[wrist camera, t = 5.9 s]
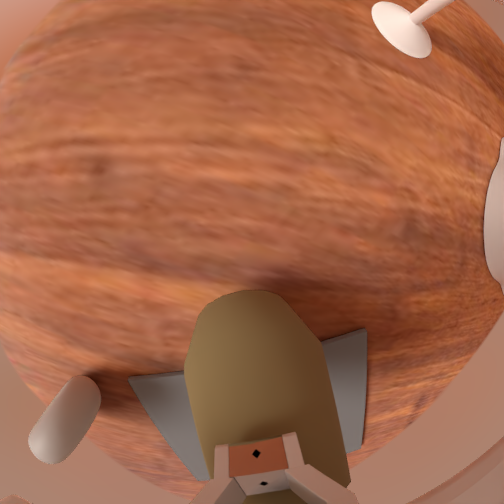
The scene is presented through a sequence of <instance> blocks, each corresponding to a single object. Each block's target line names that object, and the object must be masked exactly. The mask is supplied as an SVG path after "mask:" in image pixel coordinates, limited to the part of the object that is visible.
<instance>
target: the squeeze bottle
mask: <svg viewBox="0 0 504 504" xmlns="http://www.w3.org/2000/svg"><path fill="white" fill-rule="evenodd" d="M184 378H185V383H186V388H187V392H188V397H189V401H190V406H191V410H192V415H193V419H194V423H195V427H196V431H197V435H198V439H199V442H200V446H201V450H202V453H203V457H204V460H205V464H206V467H207V470H208V474H209V477H210V479H214V459H215V447H216V445H221V444H231V443H239V442H247V441H254V440H257V439H263V438H268V437H272V436H277V435H281V434H282V435H283V434H287V433H291V432H296V434H297V438H298V441H299V445H300V449H301V453H302V456H303V460H304V464H305V465H307V464H310V465H311V466H312V467H314V468H315V469H317V470H318V471H320V472H321V473H323V474H324V475H326V476H327V477H329V478H330V479H332V480H333V481H335V482H337V483H338V484H340V485H341V486H343V487H345V488H347V486H348V485H349V483H350V482H351V479H350V473H349V468H348V462H347V457H346V451H345V446H344V441H343V436H342V431H341V426H340V421H339V417H338V412H337V407H336V403H335V398H334V394H333V389H332V385H331V381H330V377H329V372H328V368H327V364H326V360H325V356H324V352H323V348H322V344H321V342H320V341H319V340H318V338H317V337H316V336H315V335H314V334H313V333H312V331H311V330H310V329H309V328H308V327H307V326H306V324H305V323H304V322H303V321H302V320H301V319H300V317H299V316H298V315H297V314H296V313H295V311H294V310H293V309H292V308H291V307H290V306H289V304H288V303H287V302H286V301H285V300H284V299H283V298H281V297H280V296H279V295H278V294H275V293H271V292H268V291H264V290H243V291H239V292H235V293H231V294H227V295H223V296H221V297H220V298H218V299H216V300H214V301H213V302H211V303H209V304H207V306H206V307H205V308H204V309H203V310H202V312H201V313H200V314H199V316H198V319H197V322H196V326H195V329H194V333H193V336H192V339H191V343H190V346H189V350H188V353H187V357H186V360H185V364H184ZM282 438H283V437H282ZM242 504H308V503H306V502H305V501H304V500H303V499H301V498H300V497H299V496H298V495H297V494H296V493H294V492H293V491H292V490H291V489H285V490H280V491H273V492H266V493H261V494H254V495H247V496H246V498H245V500H244V501H243V503H242Z"/></svg>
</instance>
